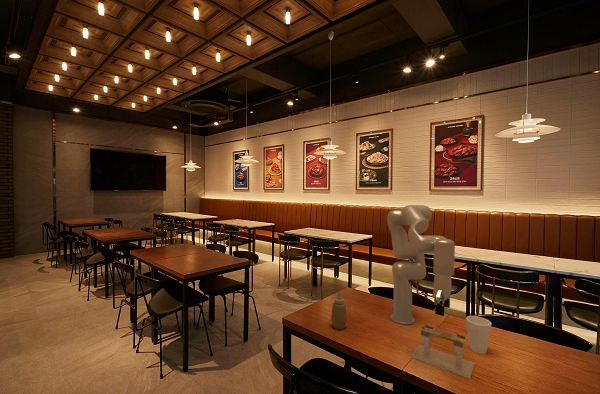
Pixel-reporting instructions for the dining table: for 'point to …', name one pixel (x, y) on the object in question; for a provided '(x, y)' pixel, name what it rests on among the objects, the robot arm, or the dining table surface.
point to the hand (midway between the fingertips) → (442, 310)
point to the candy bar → (443, 335)
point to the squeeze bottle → (339, 313)
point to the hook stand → (444, 357)
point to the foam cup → (478, 333)
